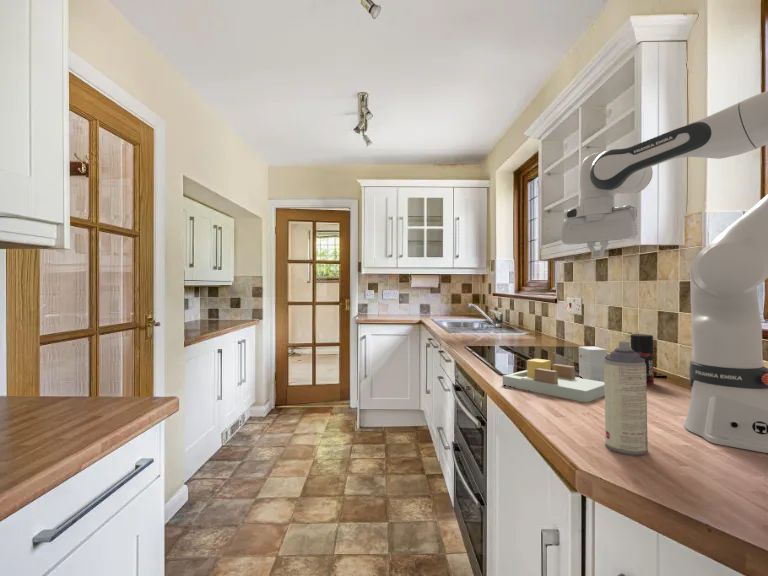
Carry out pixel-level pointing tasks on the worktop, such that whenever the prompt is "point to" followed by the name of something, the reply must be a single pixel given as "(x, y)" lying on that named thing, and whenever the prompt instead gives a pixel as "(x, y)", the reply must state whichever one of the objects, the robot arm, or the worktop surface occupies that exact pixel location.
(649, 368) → the deodorant
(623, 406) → the aerosol can
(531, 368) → the block
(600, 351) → the small box
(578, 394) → the board
